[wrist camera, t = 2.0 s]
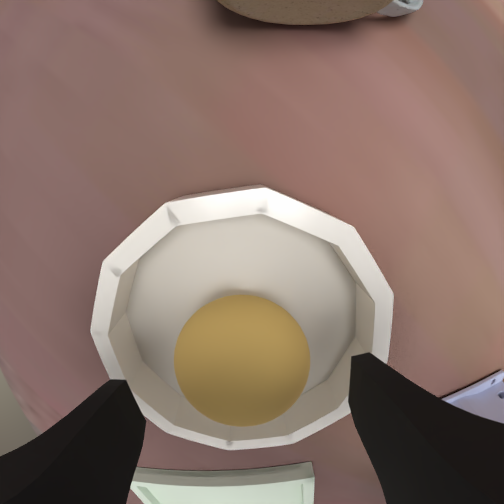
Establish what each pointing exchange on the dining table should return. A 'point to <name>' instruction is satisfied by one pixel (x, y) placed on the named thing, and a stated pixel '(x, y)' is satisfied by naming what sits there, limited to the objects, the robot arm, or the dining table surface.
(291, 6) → the ceramic mug
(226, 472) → the tray
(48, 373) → the dining table surface
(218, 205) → the bowl
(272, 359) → the ball
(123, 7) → the dining table surface
